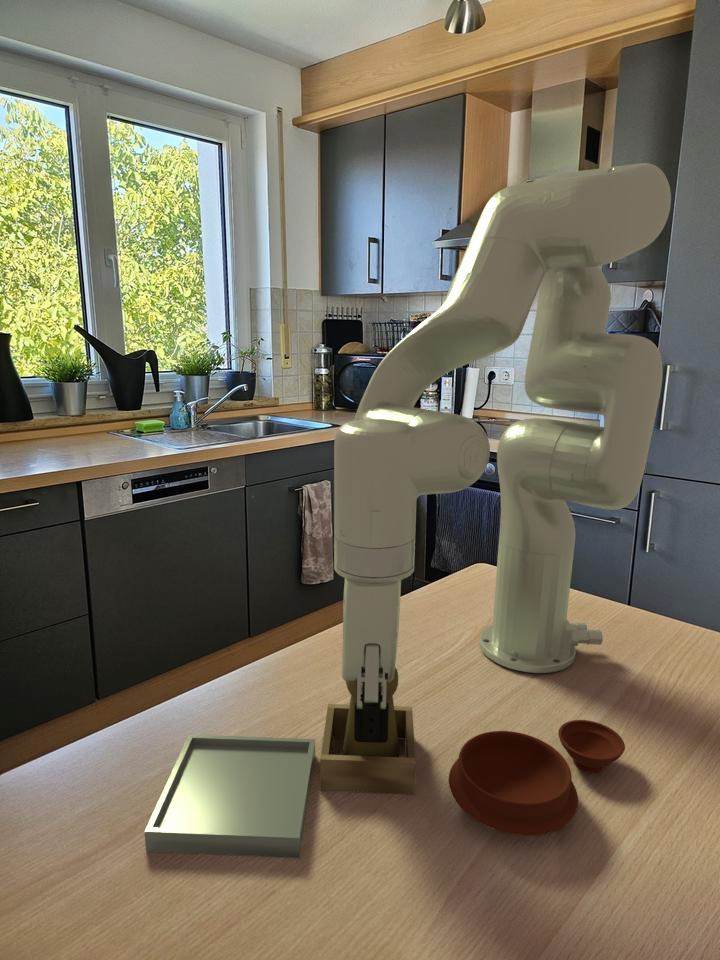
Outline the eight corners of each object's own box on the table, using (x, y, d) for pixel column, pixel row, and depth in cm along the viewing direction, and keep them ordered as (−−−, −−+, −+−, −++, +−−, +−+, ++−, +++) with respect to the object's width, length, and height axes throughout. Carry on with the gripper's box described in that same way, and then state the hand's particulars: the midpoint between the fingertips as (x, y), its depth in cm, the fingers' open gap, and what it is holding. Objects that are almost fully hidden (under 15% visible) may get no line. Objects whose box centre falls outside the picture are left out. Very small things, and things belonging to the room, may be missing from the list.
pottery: (422, 789, 64) (424, 750, 62) (564, 724, 74) (568, 689, 73) (510, 876, 54) (514, 831, 53) (658, 787, 64) (664, 748, 63)
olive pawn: (395, 783, 64) (398, 683, 61) (335, 774, 65) (335, 675, 62) (404, 744, 70) (407, 650, 67) (348, 736, 71) (348, 644, 68)
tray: (315, 756, 68) (315, 739, 67) (299, 857, 55) (299, 838, 55) (189, 751, 68) (188, 734, 68) (146, 851, 56) (144, 831, 55)
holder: (410, 735, 71) (412, 706, 71) (414, 794, 63) (416, 762, 62) (327, 732, 72) (328, 703, 71) (320, 790, 63) (320, 759, 62)
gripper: (340, 522, 70) (339, 675, 75) (326, 590, 53) (327, 780, 58) (411, 524, 70) (406, 677, 74) (419, 592, 53) (412, 783, 58)
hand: (371, 720), depth 66 cm, fingers closed on olive pawn, 4 cm apart
